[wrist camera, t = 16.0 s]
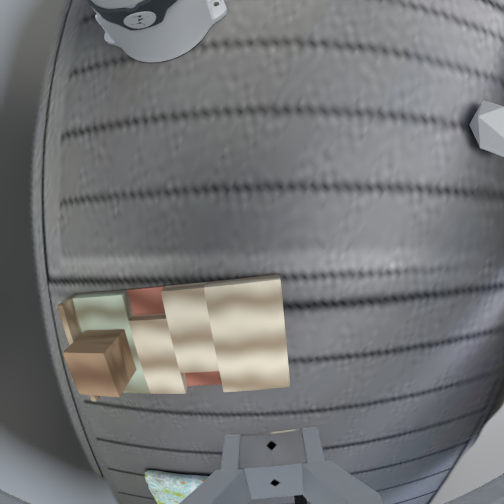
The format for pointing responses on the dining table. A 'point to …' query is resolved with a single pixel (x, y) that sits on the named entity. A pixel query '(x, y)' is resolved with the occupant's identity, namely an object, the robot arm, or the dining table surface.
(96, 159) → the dining table surface
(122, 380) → the walnut block
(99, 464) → the dining table surface
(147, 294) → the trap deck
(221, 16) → the robot arm
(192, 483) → the towel
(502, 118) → the die
